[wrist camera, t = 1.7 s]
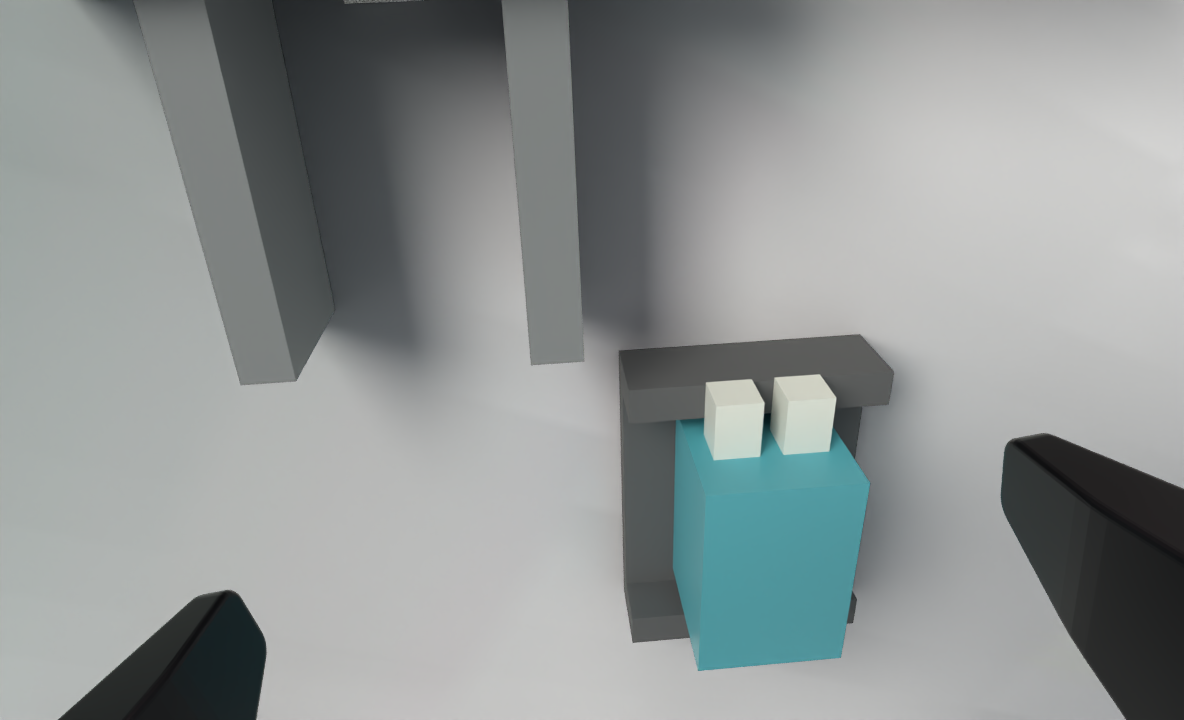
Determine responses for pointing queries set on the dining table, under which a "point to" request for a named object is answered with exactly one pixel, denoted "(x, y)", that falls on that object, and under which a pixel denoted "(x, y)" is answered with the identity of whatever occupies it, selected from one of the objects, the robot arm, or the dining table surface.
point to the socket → (281, 187)
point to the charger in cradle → (677, 392)
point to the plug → (766, 525)
